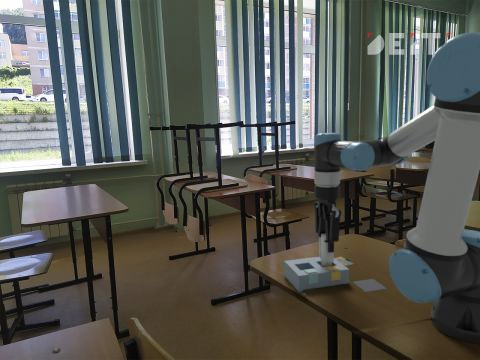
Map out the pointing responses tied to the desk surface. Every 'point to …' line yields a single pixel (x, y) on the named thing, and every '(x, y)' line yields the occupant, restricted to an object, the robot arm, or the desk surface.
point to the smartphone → (344, 261)
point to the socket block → (314, 273)
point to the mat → (369, 285)
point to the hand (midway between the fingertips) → (326, 259)
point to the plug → (323, 263)
